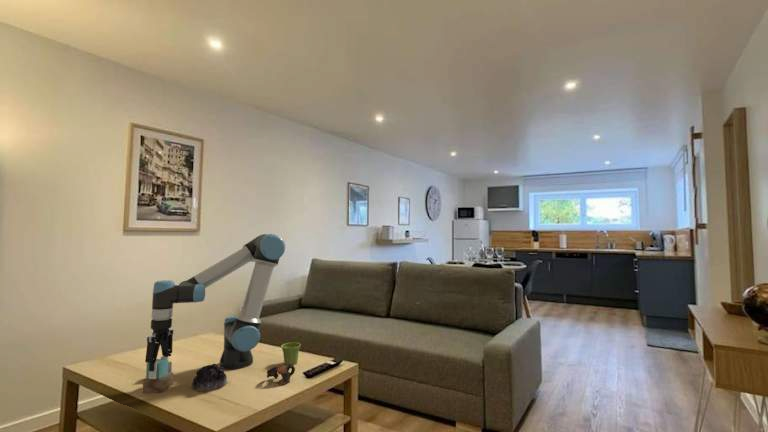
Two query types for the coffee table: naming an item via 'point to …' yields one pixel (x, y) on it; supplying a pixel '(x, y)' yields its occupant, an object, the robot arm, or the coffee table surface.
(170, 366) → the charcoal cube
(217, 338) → the coffee table surface
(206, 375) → the crystal cluster
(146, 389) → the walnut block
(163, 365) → the teal cube
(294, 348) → the plant pot
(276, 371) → the brown animal figurine
